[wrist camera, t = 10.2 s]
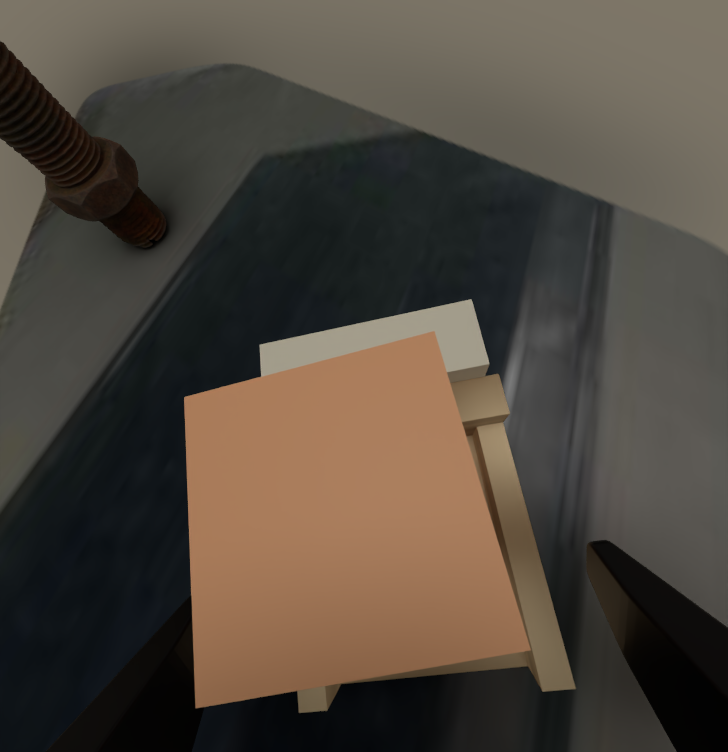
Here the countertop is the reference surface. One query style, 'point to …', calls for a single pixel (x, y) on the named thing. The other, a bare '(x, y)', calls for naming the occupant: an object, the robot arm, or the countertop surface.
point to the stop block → (448, 322)
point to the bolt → (74, 159)
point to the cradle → (517, 544)
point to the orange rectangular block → (339, 528)
